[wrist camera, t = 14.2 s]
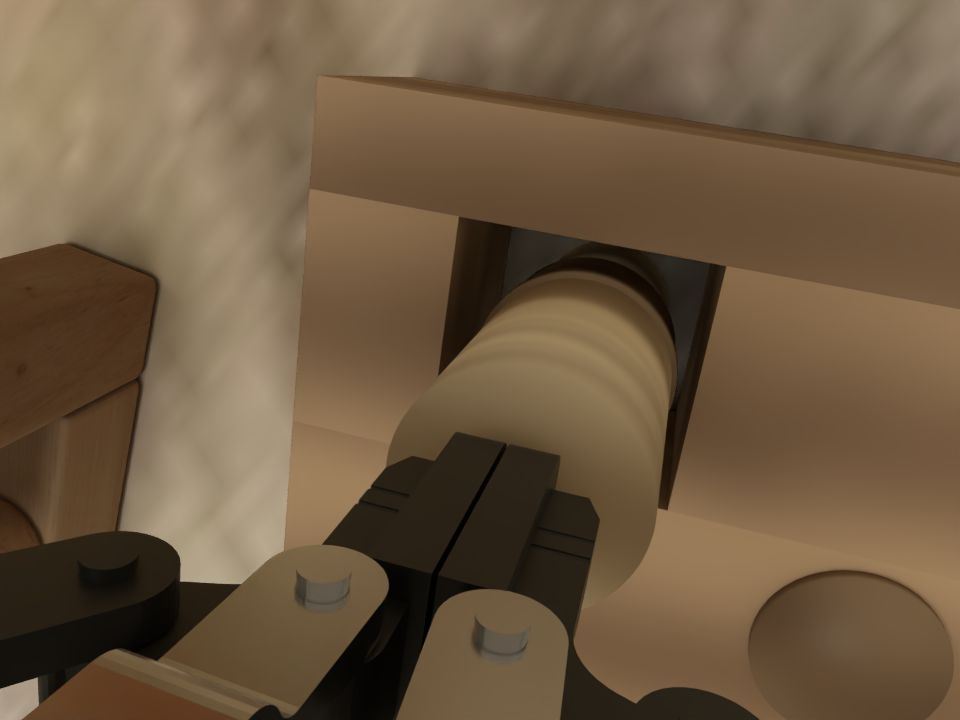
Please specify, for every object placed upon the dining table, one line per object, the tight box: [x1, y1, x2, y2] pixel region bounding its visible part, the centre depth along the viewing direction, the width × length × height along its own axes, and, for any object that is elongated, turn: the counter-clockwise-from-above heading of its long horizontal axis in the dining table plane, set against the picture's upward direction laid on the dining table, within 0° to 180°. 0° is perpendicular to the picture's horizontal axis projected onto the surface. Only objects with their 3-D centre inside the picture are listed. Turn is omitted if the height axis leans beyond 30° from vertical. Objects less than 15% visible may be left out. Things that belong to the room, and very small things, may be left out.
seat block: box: [284, 75, 960, 720], centre depth 21 cm, size 15×18×6 cm
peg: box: [386, 242, 678, 610], centre depth 18 cm, size 4×4×12 cm
